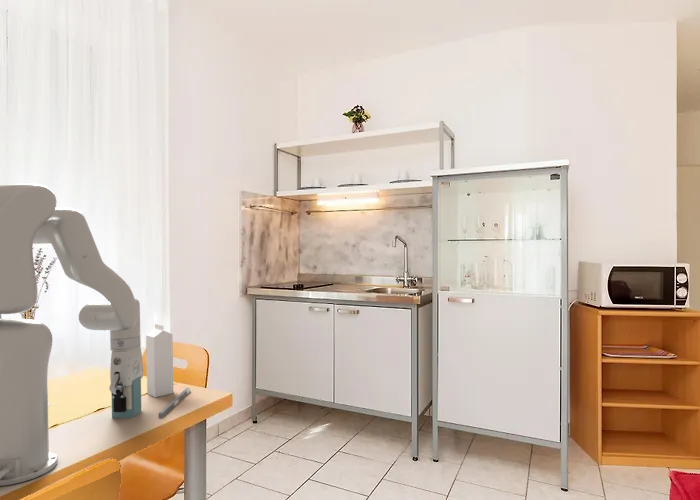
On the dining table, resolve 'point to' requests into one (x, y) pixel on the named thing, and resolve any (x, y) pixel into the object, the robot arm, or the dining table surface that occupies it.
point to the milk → (159, 362)
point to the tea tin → (130, 400)
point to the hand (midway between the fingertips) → (126, 406)
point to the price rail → (173, 402)
